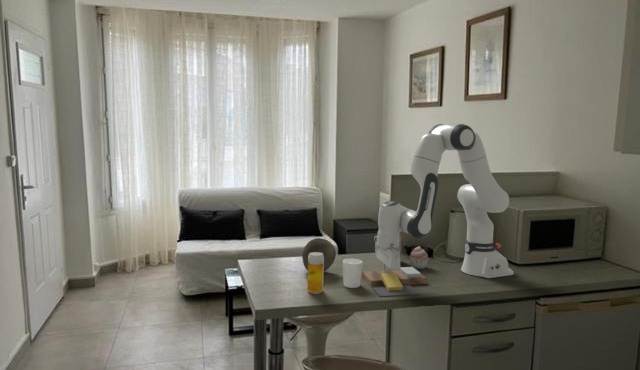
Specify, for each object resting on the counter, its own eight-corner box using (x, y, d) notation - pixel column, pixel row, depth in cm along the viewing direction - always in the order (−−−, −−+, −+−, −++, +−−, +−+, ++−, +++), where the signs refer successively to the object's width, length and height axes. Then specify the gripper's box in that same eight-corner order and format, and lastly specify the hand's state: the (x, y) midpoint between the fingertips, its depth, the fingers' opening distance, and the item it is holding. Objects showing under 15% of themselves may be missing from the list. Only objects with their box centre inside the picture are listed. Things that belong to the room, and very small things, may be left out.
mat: (408, 285, 193) (408, 284, 193) (419, 294, 183) (419, 293, 183) (370, 287, 190) (370, 286, 190) (379, 296, 179) (380, 295, 179)
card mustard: (394, 276, 194) (395, 272, 194) (402, 289, 186) (402, 286, 186) (380, 276, 193) (381, 273, 192) (387, 290, 185) (388, 287, 185)
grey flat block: (412, 270, 205) (412, 266, 205) (420, 277, 196) (420, 273, 196) (398, 271, 204) (399, 267, 203) (407, 277, 195) (407, 273, 195)
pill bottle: (307, 288, 186) (307, 251, 185) (322, 288, 187) (323, 251, 185) (307, 294, 180) (308, 256, 179) (323, 294, 181) (324, 255, 179)
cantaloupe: (316, 280, 197) (317, 244, 195) (295, 271, 208) (296, 238, 206) (341, 273, 207) (342, 239, 205) (319, 265, 217) (320, 233, 215)
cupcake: (432, 269, 215) (433, 248, 214) (414, 271, 212) (415, 249, 211) (421, 263, 224) (422, 243, 223) (404, 265, 221) (405, 244, 219)
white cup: (355, 290, 186) (356, 265, 185) (338, 286, 191) (339, 261, 189) (364, 284, 193) (365, 260, 192) (347, 280, 197) (348, 257, 196)
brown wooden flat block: (414, 274, 207) (415, 269, 207) (426, 283, 195) (426, 278, 195) (361, 277, 202) (362, 271, 202) (370, 286, 190) (370, 280, 190)
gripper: (405, 247, 184) (403, 282, 186) (387, 235, 204) (385, 266, 205) (389, 248, 183) (388, 283, 184) (373, 235, 202) (371, 267, 204)
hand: (386, 274), depth 195 cm, fingers closed
